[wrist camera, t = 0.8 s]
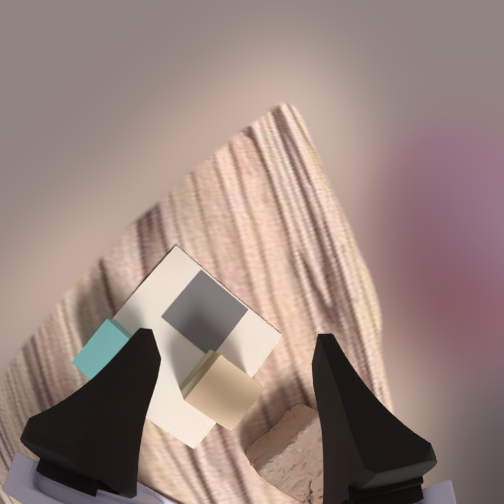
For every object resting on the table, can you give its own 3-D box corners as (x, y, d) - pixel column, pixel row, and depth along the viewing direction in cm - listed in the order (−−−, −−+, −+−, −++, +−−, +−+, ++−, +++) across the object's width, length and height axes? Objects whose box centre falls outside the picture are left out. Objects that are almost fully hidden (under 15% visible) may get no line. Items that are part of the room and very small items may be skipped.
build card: (193, 448, 23) (194, 449, 23) (79, 360, 22) (78, 361, 22) (281, 335, 28) (283, 335, 28) (176, 245, 27) (176, 245, 27)
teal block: (124, 391, 22) (118, 403, 18) (85, 356, 22) (71, 362, 18) (154, 354, 24) (153, 359, 20) (115, 319, 24) (106, 318, 19)
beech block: (219, 415, 24) (231, 431, 20) (179, 387, 24) (183, 400, 20) (248, 378, 26) (265, 387, 22) (209, 349, 25) (220, 354, 21)
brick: (238, 455, 24) (254, 475, 20) (297, 397, 27) (321, 407, 23) (330, 514, 25) (350, 531, 20) (374, 467, 28) (398, 478, 24)
